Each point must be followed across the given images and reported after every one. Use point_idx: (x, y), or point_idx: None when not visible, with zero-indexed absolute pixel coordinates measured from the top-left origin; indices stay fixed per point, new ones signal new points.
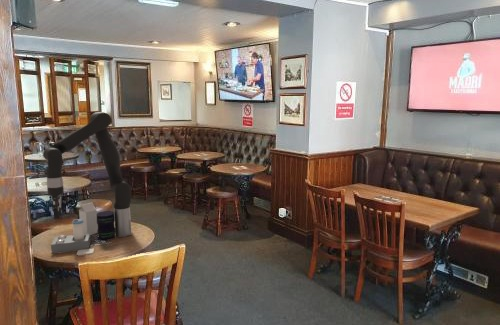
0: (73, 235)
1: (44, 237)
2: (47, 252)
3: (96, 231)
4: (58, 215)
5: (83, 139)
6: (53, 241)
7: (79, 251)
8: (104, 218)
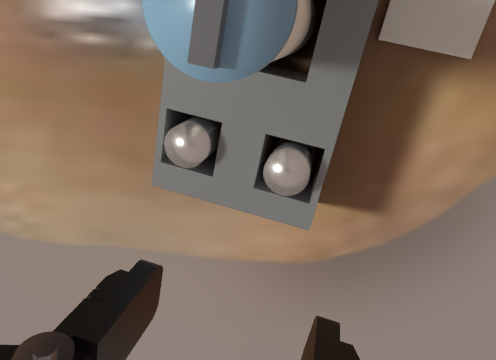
0: None
1: (22, 203)
2: None
3: None
4: (335, 357)
5: None
6: (247, 207)
7: (415, 32)
8: None
